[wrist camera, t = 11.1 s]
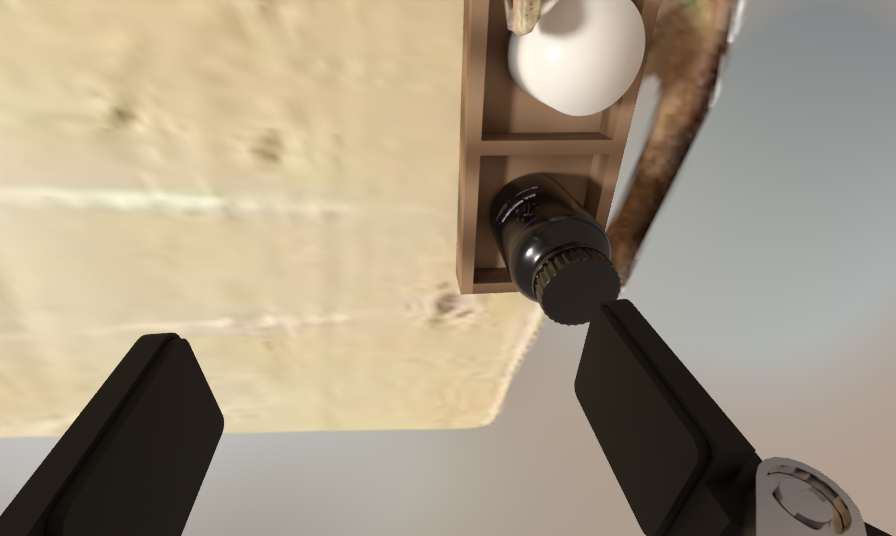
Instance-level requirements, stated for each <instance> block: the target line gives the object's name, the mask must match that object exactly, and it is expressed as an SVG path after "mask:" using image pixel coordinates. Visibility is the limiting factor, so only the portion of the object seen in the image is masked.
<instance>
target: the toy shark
mask: <svg viewBox="0 0 896 536" xmlns="http://www.w3.org/2000/svg"><path fill="white" fill-rule="evenodd" d="M510 1H511V0H504V6H505V12H506V19H507V26H508V29H509V30H511V31H513V32H514V33H515V34H517V35H518V36H523V35H526V34H528V33H530V32H532V31H533V29H534V27H535V25H536V23H537V22H538V20H539V19H540V13H541V3H542V0H513V5H512V3H511V2H510Z"/></svg>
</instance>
